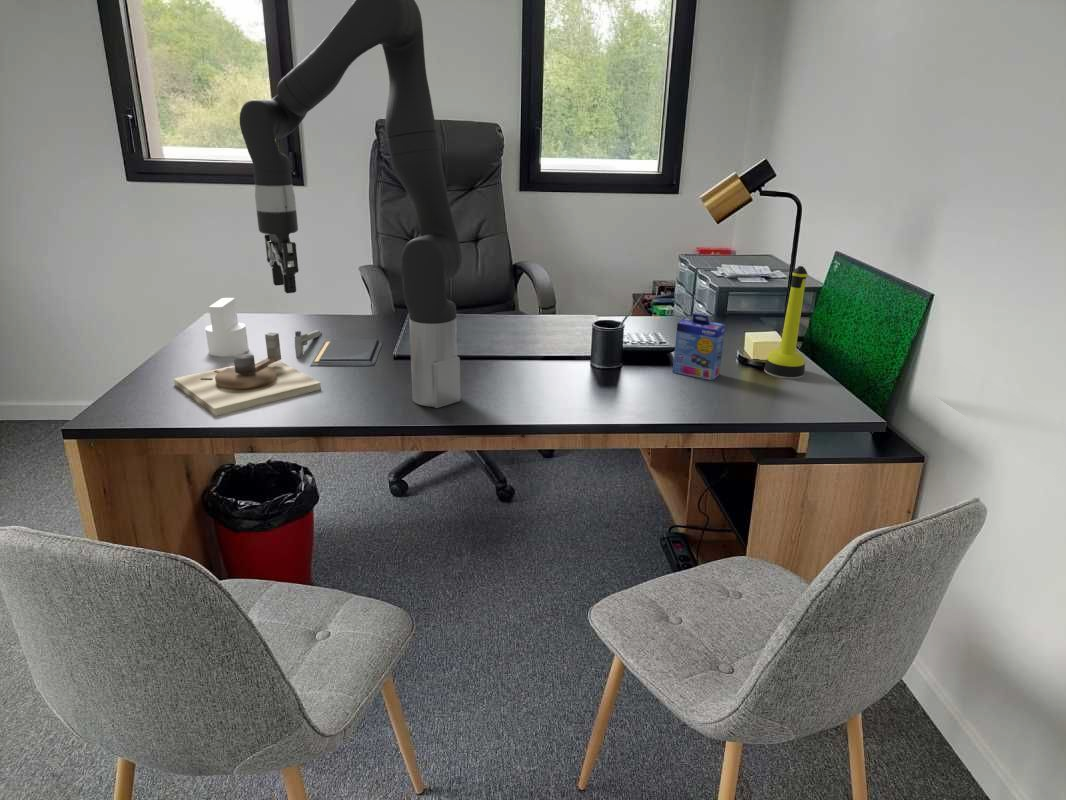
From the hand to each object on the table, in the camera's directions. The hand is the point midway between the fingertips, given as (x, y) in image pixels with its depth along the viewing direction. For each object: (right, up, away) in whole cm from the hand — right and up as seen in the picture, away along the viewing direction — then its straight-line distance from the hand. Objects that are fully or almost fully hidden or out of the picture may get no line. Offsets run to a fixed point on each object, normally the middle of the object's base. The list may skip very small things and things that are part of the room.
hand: (284, 288), depth 149 cm
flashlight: (+111, -17, +19) cm, 113 cm away
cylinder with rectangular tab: (-22, -11, +25) cm, 35 cm away
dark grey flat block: (+7, -13, +25) cm, 29 cm away
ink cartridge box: (+89, -17, +17) cm, 92 cm away
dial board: (-9, -21, +2) cm, 22 cm away
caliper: (-4, -10, +31) cm, 33 cm away
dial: (-8, -18, +4) cm, 20 cm away
